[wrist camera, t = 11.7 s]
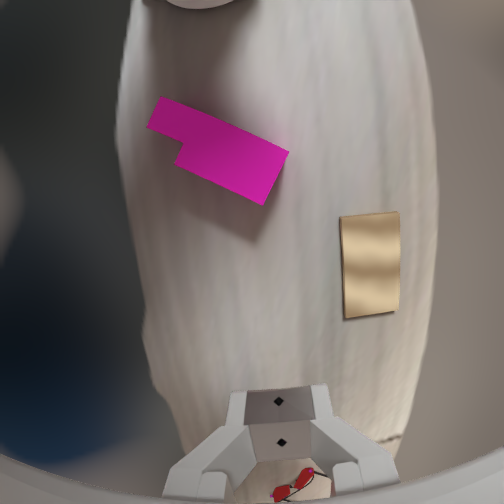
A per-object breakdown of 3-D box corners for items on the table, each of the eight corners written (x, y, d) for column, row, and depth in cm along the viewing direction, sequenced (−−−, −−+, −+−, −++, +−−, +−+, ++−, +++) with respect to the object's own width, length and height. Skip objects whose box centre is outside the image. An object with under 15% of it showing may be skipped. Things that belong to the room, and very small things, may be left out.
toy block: (262, 205, 34) (263, 197, 41) (289, 151, 32) (285, 153, 39) (137, 148, 33) (159, 149, 40) (160, 96, 31) (179, 105, 38)
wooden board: (339, 216, 41) (341, 218, 40) (396, 211, 40) (399, 212, 39) (344, 314, 45) (345, 318, 43) (395, 306, 44) (398, 309, 43)
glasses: (309, 460, 55) (311, 478, 50) (364, 477, 57) (367, 493, 52) (269, 487, 58) (268, 504, 54) (323, 503, 60) (324, 518, 56)
